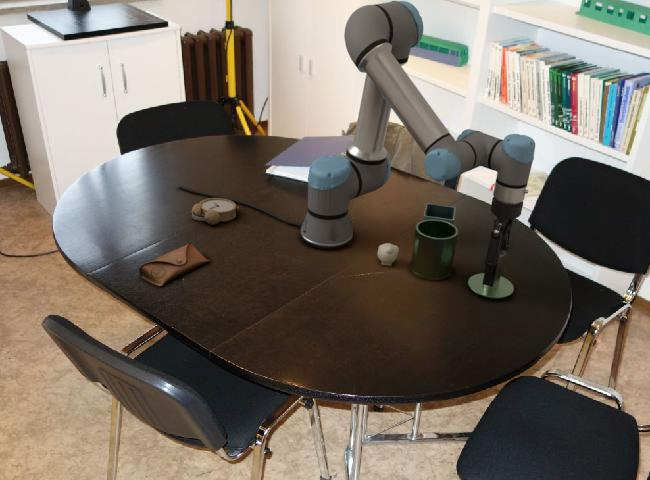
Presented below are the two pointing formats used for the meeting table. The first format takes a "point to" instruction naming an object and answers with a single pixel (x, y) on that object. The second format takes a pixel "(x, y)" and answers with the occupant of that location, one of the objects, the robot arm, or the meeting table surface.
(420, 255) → the trash can
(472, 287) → the bin lid
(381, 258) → the paper ball
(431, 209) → the flower pot
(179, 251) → the sunglasses case
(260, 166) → the meeting table surface
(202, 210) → the alarm clock
